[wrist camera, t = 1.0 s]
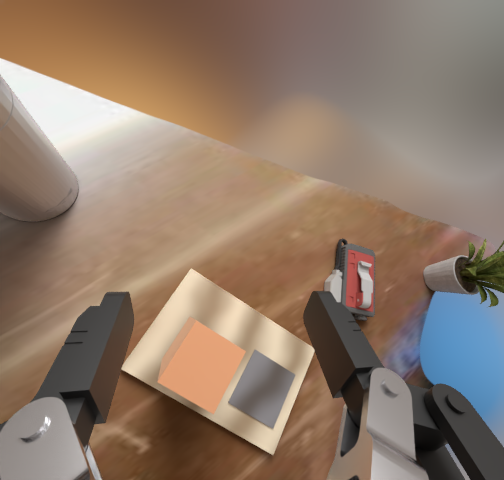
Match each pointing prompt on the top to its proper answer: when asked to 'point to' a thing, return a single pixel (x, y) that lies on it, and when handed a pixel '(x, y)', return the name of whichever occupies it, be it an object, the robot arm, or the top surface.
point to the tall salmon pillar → (200, 365)
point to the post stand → (249, 370)
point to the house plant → (468, 274)
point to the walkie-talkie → (354, 280)
